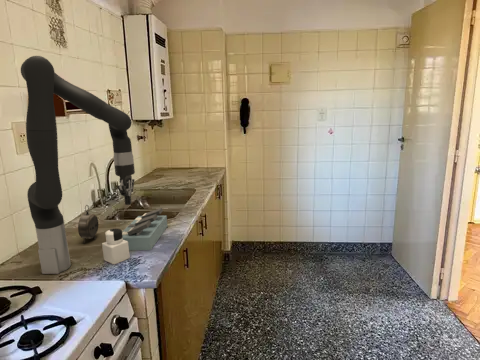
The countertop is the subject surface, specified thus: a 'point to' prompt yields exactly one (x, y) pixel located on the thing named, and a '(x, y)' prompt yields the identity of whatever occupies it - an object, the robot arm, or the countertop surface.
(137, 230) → the switch
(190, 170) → the countertop surface
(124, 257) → the medicine bottle
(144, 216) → the switch
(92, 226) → the alarm clock
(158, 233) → the switch box
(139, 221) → the switch
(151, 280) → the countertop surface
